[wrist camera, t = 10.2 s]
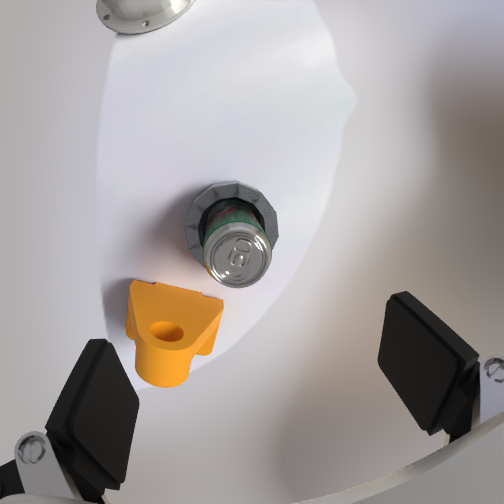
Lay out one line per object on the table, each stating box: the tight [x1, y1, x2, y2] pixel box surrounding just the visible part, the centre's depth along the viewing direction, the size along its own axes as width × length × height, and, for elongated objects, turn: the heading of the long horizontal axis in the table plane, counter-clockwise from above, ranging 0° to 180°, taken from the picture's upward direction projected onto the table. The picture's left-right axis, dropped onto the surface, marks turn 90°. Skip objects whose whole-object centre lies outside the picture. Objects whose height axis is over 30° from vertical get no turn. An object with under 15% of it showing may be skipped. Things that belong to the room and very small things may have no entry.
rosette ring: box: [184, 181, 279, 268], centre depth 29 cm, size 9×9×4 cm
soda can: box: [202, 200, 272, 288], centre depth 25 cm, size 5×5×12 cm
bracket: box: [126, 280, 224, 388], centre depth 28 cm, size 11×7×12 cm, turn 74°
